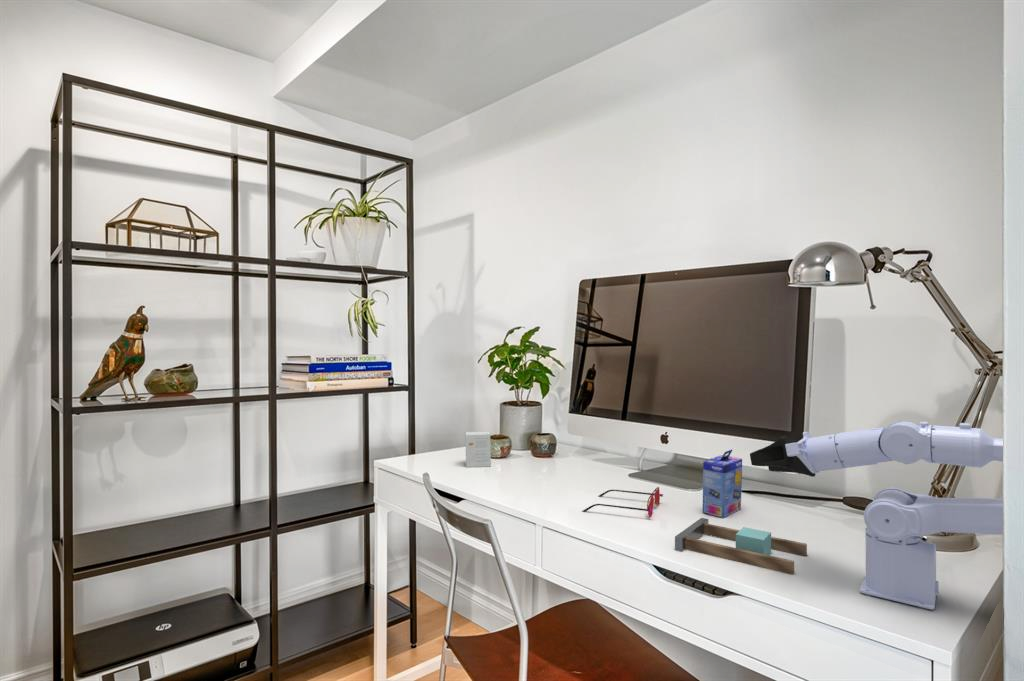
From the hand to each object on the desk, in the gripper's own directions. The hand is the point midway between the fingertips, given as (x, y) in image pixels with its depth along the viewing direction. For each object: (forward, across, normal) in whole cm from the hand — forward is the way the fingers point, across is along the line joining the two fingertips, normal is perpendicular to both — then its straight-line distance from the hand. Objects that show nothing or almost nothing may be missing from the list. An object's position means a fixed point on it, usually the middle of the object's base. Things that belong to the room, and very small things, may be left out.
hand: (760, 462), depth 103 cm
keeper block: (+7, -7, +15) cm, 18 cm away
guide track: (+8, -7, +15) cm, 18 cm away
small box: (+95, -17, -15) cm, 98 cm away
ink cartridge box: (+20, -26, +5) cm, 34 cm away
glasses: (+39, -13, +4) cm, 42 cm away
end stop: (+18, -6, +12) cm, 23 cm away
